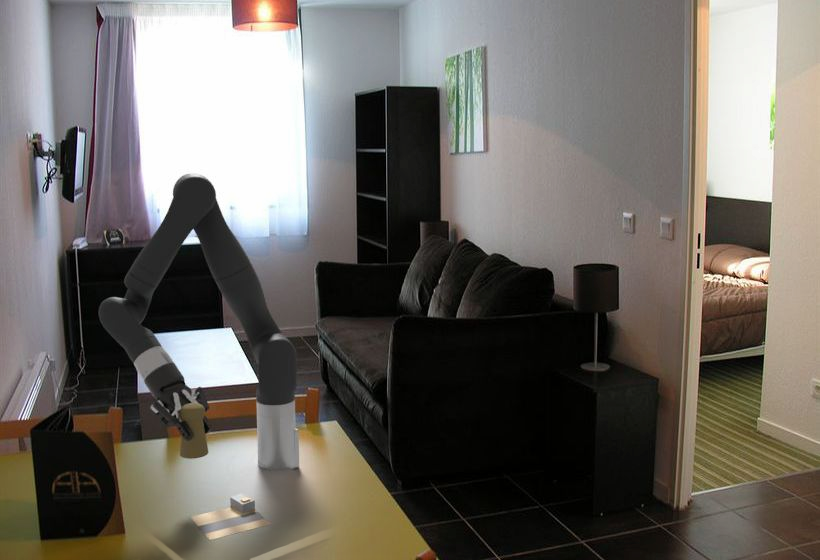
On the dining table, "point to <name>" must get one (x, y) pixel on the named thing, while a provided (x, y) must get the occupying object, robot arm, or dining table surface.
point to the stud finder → (242, 503)
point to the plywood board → (228, 522)
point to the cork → (194, 432)
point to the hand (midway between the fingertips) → (199, 434)
